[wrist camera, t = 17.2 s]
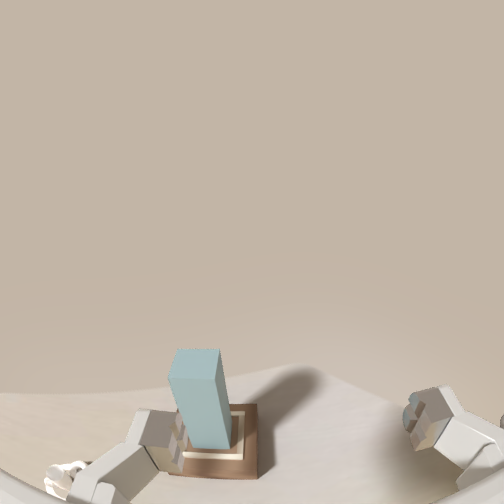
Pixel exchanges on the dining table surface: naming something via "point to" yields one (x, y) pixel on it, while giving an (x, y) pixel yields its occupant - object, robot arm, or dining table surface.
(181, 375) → the column
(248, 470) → the plinth
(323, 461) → the dining table surface
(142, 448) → the robot arm
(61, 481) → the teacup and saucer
